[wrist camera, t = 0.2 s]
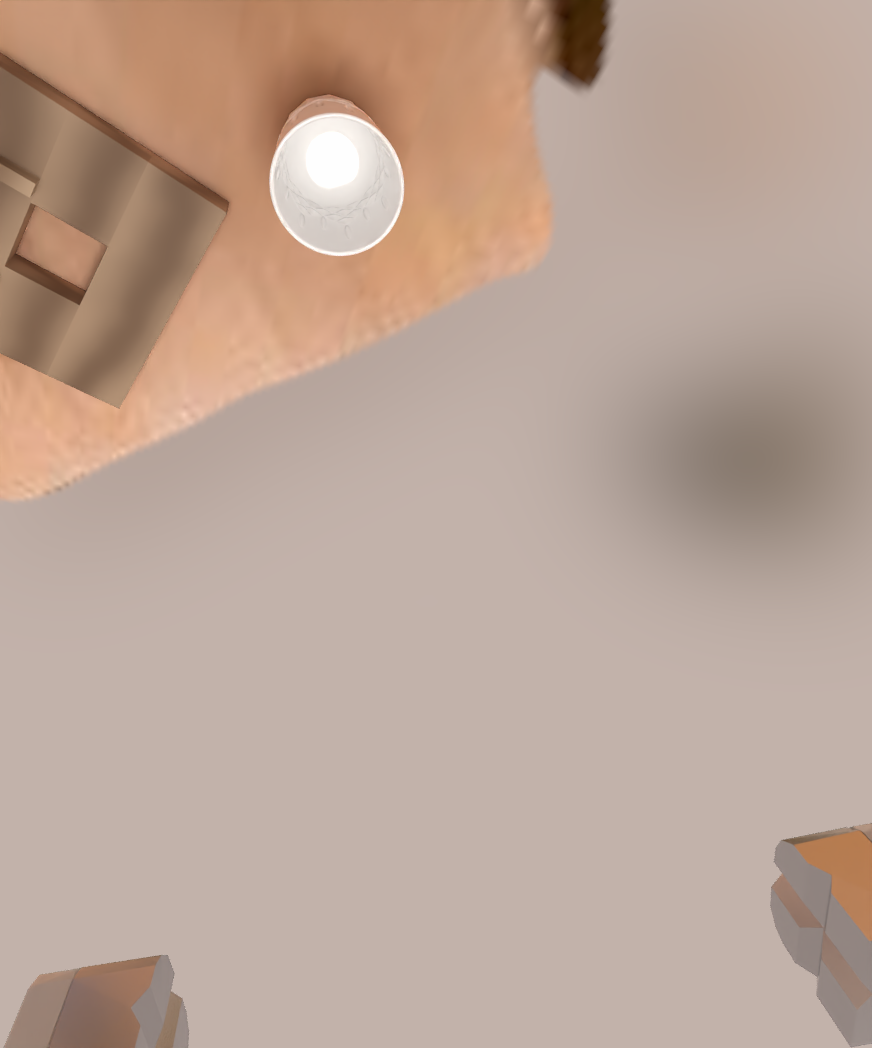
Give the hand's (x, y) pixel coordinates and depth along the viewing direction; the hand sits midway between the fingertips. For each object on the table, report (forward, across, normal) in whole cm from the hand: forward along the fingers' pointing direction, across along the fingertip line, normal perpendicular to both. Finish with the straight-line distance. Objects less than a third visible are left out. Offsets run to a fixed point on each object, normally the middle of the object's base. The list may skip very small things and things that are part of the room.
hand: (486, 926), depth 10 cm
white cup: (+50, 0, -15) cm, 52 cm away
